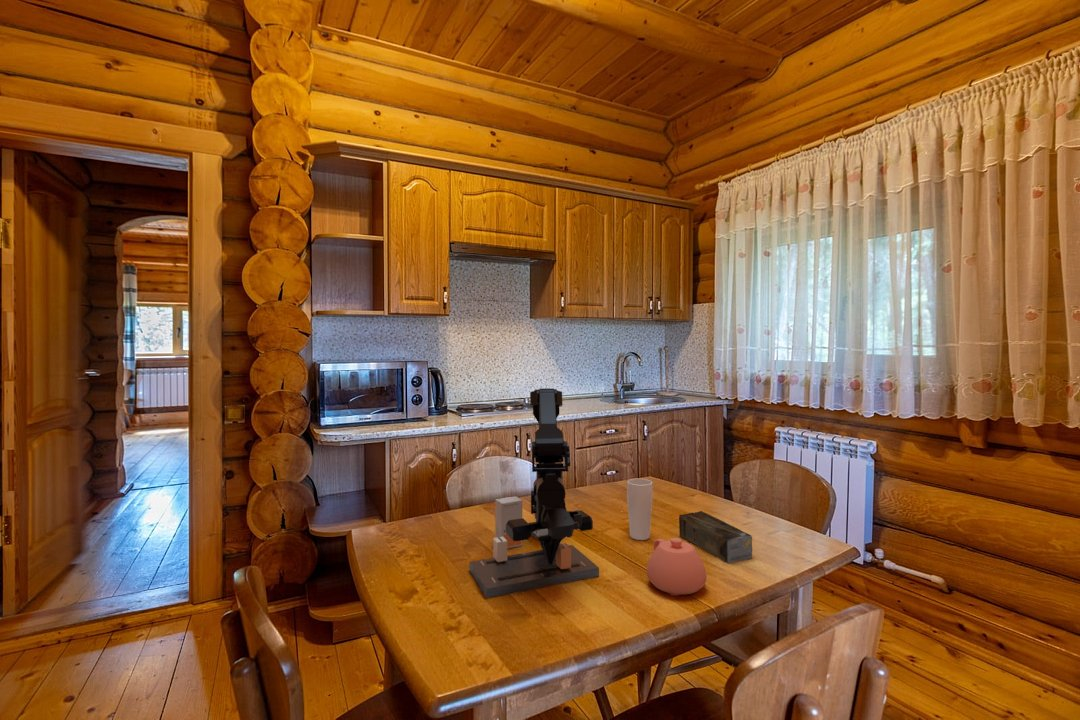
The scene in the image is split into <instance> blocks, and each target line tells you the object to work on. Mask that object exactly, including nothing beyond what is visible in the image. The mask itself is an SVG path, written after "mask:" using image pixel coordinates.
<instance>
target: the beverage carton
mask: <svg viewBox="0 0 1080 720" xmlns="http://www.w3.org/2000/svg"><path fill="white" fill-rule="evenodd" d="M678 525H679V527H678V530H679V537H681V538H683V539H684V540H686V541H688V542H690V543H692V544H693V545H695V546H697V547H698V548H700V549H702V550H703V551H704V552H705V551H706V553H708V554H711V555H712V556H714V557H716V558H718V559H720V560H721V561H723V562H724V563H726V562H727V563H726V564H732V563H737V562H742V561H746V560H750V559H751V560H752V559H753V535H752V534H749V533H747V532H745V531H743V530H741V529H739V528H737V527H735V526H734V525H731V524H729V523H727V522H725V521H723V520H721V519H720V518H717V517H715V516H713V515H711V514H709V513H706V512H705V511H702V510H700V511H696V512H689V513H685V514H684V513H683V514H679V516H678Z"/></svg>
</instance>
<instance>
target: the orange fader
mask: <svg viewBox="0 0 1080 720" xmlns="http://www.w3.org/2000/svg"><path fill="white" fill-rule="evenodd" d="M556 565H557V566H558V567H559V568H560V569H567V568H571V547H570V546H569V544H568V543H567V542H560V544H559V546H558V549H557V552H556Z"/></svg>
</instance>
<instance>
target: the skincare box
mask: <svg viewBox="0 0 1080 720" xmlns="http://www.w3.org/2000/svg"><path fill="white" fill-rule="evenodd" d="M494 506H495V508H494V509H495V511H494V513H495V514H494V515H495V518H494V519H495V521H494V522H495V525H494V527H495V528H494V530H495V533H494V535H495V536H494V538H497V537H504V538H505V539H506V540H507V550H508V549H512V548H519V547H523V540H521V541H513V540H512V539H511V538H510V537H509V536H508V534H507V533H506V523H507V522H508V520H514V519H521V518H523V500H522V499H521V498H519V497H518V496H517V495H515V496H509V497H507V496H506V497H502V498H496V499H495V505H494Z"/></svg>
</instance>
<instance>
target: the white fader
mask: <svg viewBox="0 0 1080 720" xmlns="http://www.w3.org/2000/svg"><path fill="white" fill-rule="evenodd" d="M492 541H493V542H492V543H493V545H492V546H493V547H492V548H493V553H492V554H493V558H495V560H496V561H497V562H501V561H507V556H508V549H507V540H506V539H505V538H504V537H497V538H495V537H493V538H492Z"/></svg>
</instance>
